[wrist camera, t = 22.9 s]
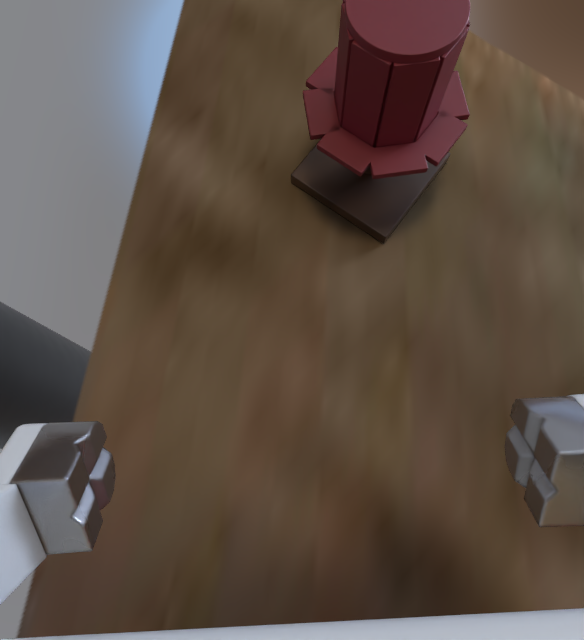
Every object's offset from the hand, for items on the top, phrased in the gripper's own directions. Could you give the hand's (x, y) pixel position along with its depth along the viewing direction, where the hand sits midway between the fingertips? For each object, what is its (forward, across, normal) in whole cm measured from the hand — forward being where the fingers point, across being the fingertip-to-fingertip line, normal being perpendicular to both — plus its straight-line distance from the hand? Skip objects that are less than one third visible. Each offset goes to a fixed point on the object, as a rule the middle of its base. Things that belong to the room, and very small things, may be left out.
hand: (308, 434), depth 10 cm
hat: (+29, -7, -2) cm, 30 cm away
